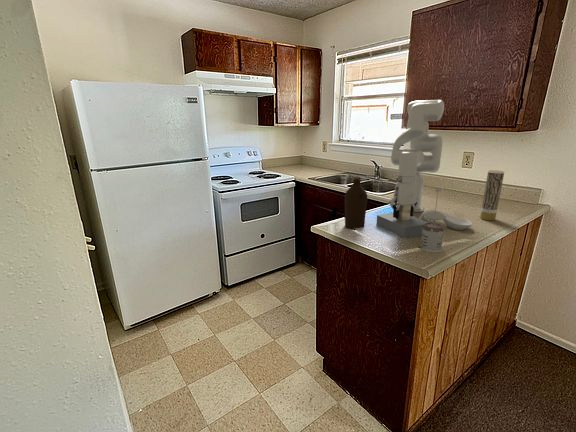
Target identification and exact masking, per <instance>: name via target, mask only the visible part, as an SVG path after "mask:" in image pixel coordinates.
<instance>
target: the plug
mask: <svg viewBox="0 0 576 432" xmlns="http://www.w3.org/2000/svg"><path fill="white" fill-rule="evenodd" d="M398 210H399V218H398V220H401V221H406V220H409V219H410V210H411V204H410V205H402V206H400V207H399V209H398Z"/></svg>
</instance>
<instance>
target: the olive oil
mask: <svg viewBox="0 0 576 432" xmlns="http://www.w3.org/2000/svg"><path fill="white" fill-rule="evenodd" d="M367 206H368V193H367V191H366V190H365V188H364V187H362V185H361V176H360V175H359V176H353V180H352V185H351V186H350V187H349V188H348V189H347V190H346V191H345V193H344V227H345V228H346V229H349V230H354V231H357V229H361V228H364V227H365V223H366V214H367Z"/></svg>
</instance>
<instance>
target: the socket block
mask: <svg viewBox="0 0 576 432" xmlns="http://www.w3.org/2000/svg"><path fill="white" fill-rule="evenodd" d="M425 223H430V221H429V222H428V221H426V220H423V219H422V220H421V219H419V218H417V217H415V216H414V215H413V216H412V217H411V216H410V219H409V220H406V221H401V220H398V219H396V218H394V217H393V212H389V213H384V214H383V213H382V214H377V215H376V226H378V227H381V228H382V229H384V230H387V231H389V232H391V233H393V234H395V235H397V236H399V237H401V238H404V239H407V238H414V237H418V236H422V234H423V233H422V229H423V227H425V226H424V224H425Z"/></svg>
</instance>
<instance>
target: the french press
mask: <svg viewBox="0 0 576 432" xmlns="http://www.w3.org/2000/svg"><path fill="white" fill-rule="evenodd" d="M435 192H437V194H436V202H435V206H437V203H438V197H439V193H440V192H441V188H439V187H438V188H436V189H435ZM434 210H435V212H428V213H426V214H424V216H423V217H425V218H426V219H429V223H425V224H424V226H425V227H423V229H422V233H423V234H422V235H421V237H420V238H421V239H420V246H418V249H420V250H422V251H424V252H428V253H441V252H443V251H444V250H445V249H444V247H443V246H442V245H443V239H444V233H445V230H444V225H442V224H441V223H438V222H437V223H436V221H443V220H444V219H445V218H446V216H445V215H443V214H441V213H439V212H436V211H437V207H435V209H434ZM432 221H433V222H432Z"/></svg>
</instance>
